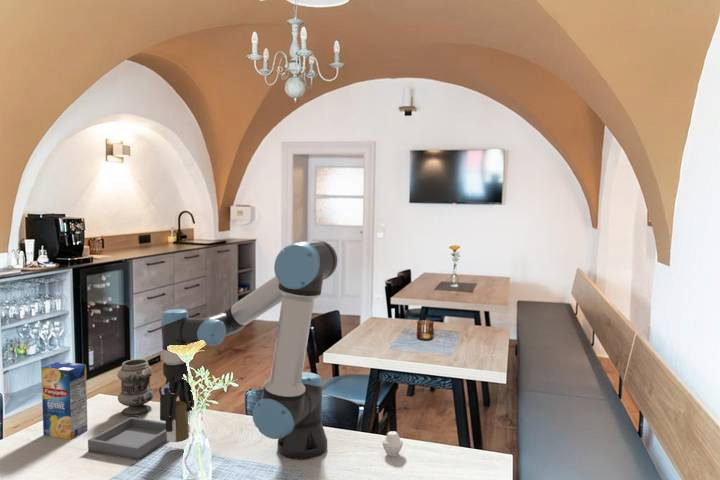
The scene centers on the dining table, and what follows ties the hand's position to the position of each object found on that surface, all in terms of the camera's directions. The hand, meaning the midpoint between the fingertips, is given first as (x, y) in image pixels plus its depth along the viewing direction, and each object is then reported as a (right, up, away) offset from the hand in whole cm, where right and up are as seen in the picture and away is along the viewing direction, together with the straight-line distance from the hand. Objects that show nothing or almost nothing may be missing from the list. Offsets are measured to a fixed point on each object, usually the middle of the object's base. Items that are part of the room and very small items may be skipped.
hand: (178, 436), depth 160 cm
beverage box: (-40, -3, +11) cm, 42 cm away
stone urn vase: (-25, -2, +29) cm, 38 cm away
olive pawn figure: (0, -1, 0) cm, 1 cm away
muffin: (+65, -5, -2) cm, 65 cm away
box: (-15, -3, +4) cm, 16 cm away
